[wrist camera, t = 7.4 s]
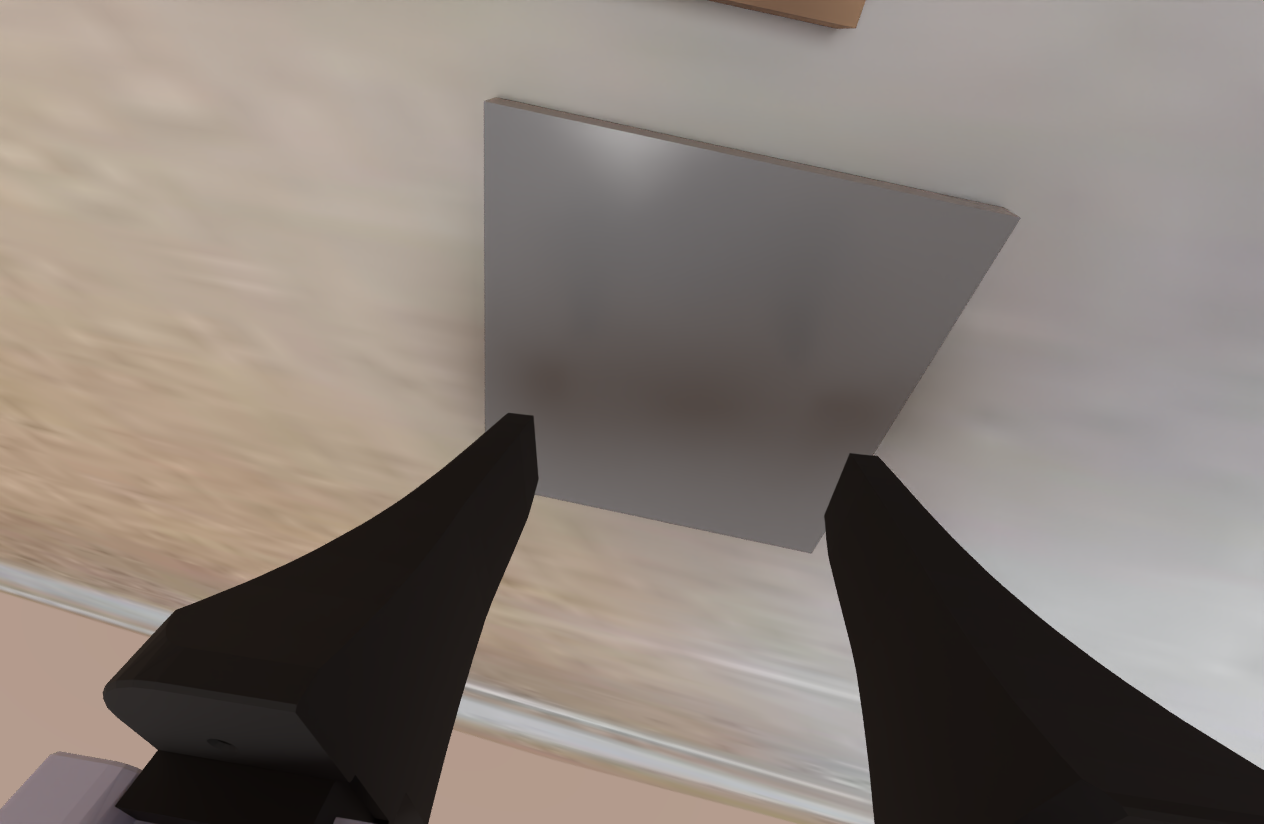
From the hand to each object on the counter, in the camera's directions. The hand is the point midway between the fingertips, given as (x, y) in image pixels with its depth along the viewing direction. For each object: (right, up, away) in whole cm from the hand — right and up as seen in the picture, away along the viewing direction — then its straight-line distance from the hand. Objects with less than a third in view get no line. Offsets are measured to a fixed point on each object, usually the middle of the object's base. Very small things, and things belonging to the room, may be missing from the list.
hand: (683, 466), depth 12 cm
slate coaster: (+1, +3, +4) cm, 4 cm away
